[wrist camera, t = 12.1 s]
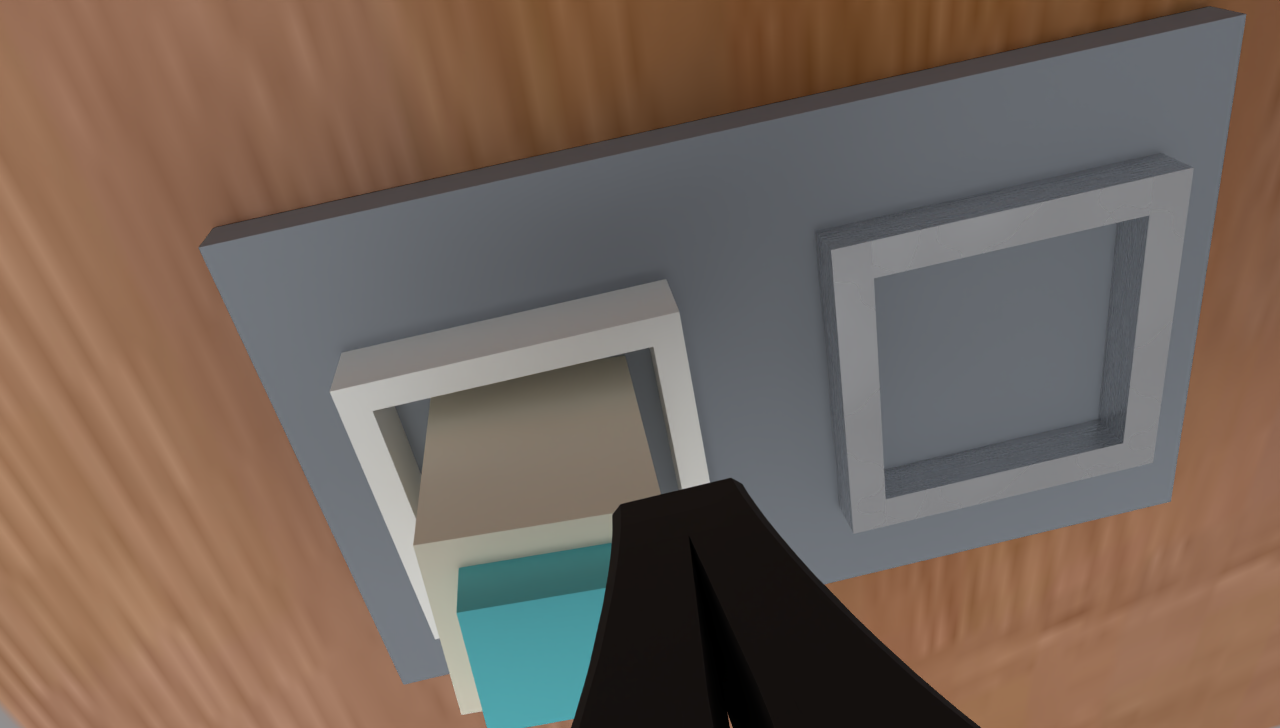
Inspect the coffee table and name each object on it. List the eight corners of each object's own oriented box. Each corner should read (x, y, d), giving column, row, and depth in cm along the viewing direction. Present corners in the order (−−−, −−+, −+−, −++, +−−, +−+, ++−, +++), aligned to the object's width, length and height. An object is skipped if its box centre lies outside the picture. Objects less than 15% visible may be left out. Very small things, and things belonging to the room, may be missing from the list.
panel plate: (1209, 6, 18) (1246, 14, 17) (1146, 478, 24) (1170, 501, 23) (213, 227, 17) (198, 248, 16) (407, 654, 23) (403, 684, 23)
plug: (625, 355, 19) (674, 545, 14) (642, 505, 21) (690, 721, 16) (432, 384, 18) (407, 590, 13) (468, 533, 20) (459, 763, 15)
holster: (1160, 152, 18) (1193, 167, 17) (1126, 438, 22) (1152, 462, 21) (815, 231, 18) (831, 250, 17) (839, 507, 22) (853, 533, 21)
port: (666, 279, 18) (679, 311, 17) (712, 526, 21) (725, 570, 20) (341, 352, 18) (329, 391, 17) (438, 591, 21) (435, 639, 20)
